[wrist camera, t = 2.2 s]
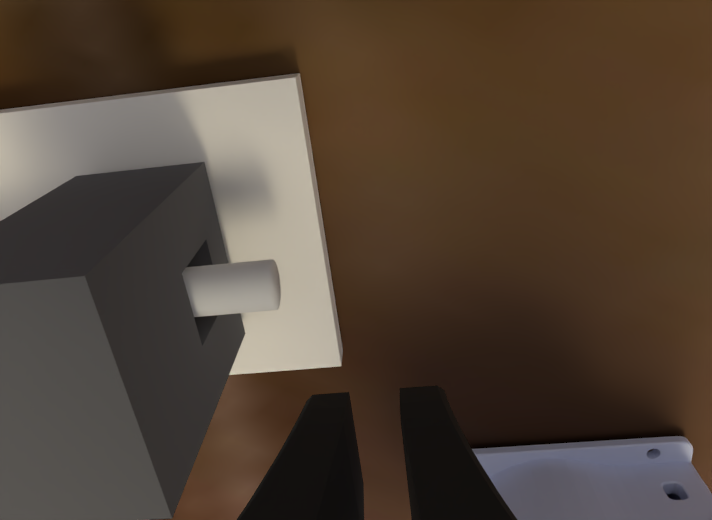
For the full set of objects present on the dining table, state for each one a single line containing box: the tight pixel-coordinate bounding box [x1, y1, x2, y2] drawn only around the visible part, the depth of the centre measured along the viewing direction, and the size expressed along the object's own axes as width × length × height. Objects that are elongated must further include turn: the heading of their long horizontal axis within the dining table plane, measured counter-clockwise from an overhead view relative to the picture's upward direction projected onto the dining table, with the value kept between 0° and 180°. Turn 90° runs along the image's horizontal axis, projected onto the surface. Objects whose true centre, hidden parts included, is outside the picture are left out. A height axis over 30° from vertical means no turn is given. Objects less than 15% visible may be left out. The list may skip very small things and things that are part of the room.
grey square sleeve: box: [0, 162, 245, 520], centre depth 15 cm, size 4×6×8 cm, turn 7°
